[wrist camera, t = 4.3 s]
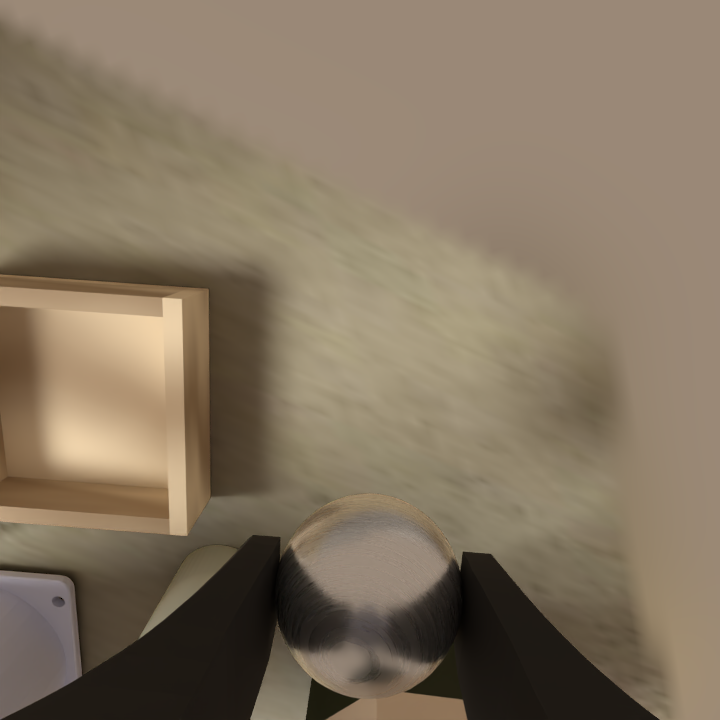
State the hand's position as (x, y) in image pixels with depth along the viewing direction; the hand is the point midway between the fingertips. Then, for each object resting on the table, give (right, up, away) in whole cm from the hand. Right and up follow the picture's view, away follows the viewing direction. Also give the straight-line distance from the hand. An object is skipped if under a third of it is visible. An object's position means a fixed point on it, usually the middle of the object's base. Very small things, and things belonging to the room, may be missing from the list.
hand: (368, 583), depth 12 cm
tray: (-10, +4, +8) cm, 13 cm away
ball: (0, 0, 0) cm, 0 cm away
